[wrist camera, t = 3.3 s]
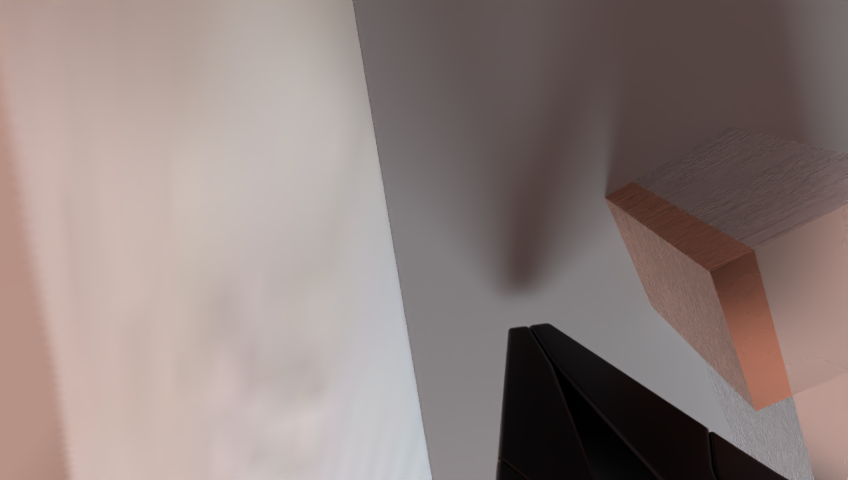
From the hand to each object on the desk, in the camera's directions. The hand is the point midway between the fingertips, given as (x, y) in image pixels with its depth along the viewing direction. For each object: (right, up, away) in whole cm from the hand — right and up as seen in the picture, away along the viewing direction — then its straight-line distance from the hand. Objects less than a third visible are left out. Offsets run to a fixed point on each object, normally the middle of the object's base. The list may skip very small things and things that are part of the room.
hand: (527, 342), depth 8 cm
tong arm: (+9, -3, +3) cm, 11 cm away
